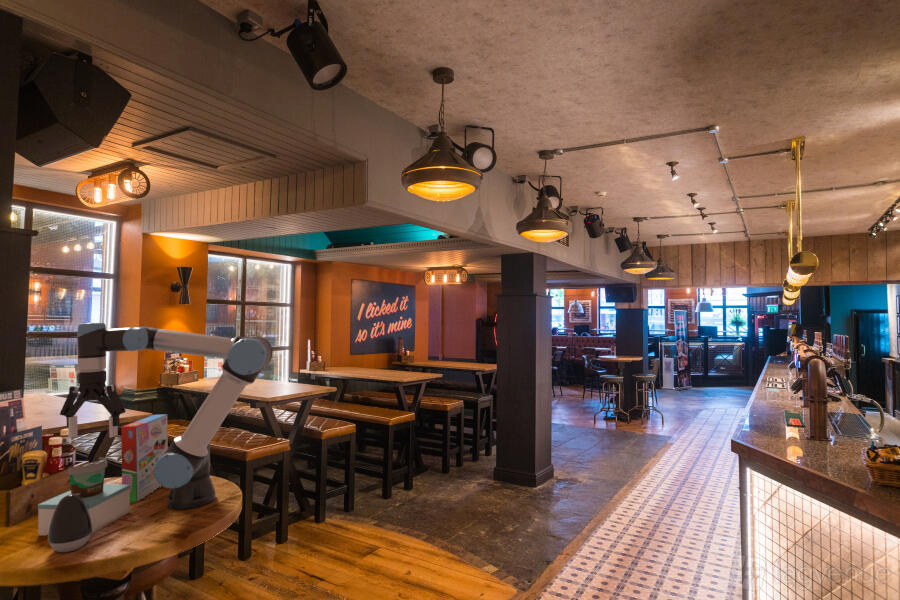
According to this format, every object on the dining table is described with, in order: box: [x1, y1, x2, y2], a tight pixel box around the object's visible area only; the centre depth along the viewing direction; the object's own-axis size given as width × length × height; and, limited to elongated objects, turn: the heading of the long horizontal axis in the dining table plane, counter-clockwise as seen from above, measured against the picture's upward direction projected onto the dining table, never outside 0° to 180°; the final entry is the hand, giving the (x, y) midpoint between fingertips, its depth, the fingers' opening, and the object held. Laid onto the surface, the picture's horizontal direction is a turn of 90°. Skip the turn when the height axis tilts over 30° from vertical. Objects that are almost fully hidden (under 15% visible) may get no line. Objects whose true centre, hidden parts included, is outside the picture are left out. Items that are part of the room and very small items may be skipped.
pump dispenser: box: [47, 492, 92, 553], centre depth 147 cm, size 10×10×15 cm
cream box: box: [37, 489, 131, 536], centre depth 164 cm, size 16×18×8 cm
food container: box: [67, 456, 108, 498], centre depth 164 cm, size 12×6×10 cm, turn 170°
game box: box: [120, 413, 169, 503], centre depth 192 cm, size 21×6×27 cm, turn 0°
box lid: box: [37, 483, 131, 509], centre depth 164 cm, size 16×18×1 cm
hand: (93, 436), depth 165 cm, fingers open, 13 cm apart
